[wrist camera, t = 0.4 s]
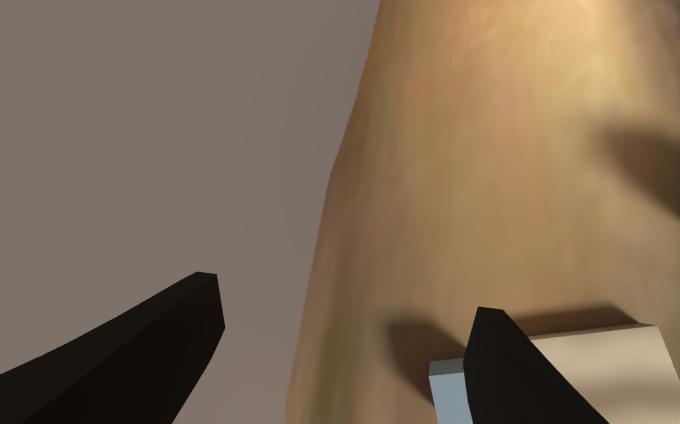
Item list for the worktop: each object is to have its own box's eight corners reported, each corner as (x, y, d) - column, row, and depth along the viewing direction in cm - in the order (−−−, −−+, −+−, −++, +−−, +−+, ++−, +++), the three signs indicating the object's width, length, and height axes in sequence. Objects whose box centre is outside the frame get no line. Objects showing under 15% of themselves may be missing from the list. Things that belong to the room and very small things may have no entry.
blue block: (490, 408, 30) (502, 435, 24) (440, 412, 31) (441, 438, 25) (477, 356, 31) (486, 370, 26) (429, 361, 32) (428, 376, 27)
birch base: (696, 470, 25) (722, 488, 23) (541, 474, 28) (551, 491, 26) (639, 322, 28) (657, 325, 26) (504, 338, 31) (510, 342, 29)
